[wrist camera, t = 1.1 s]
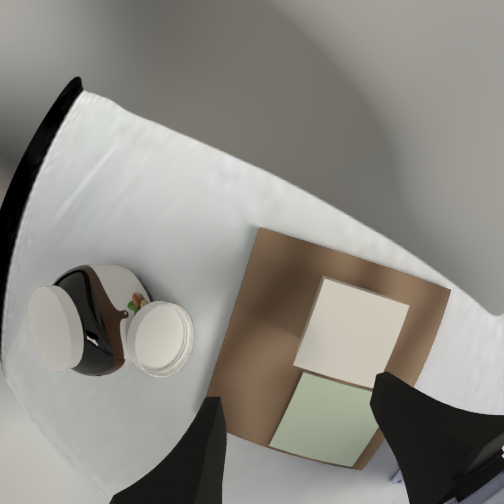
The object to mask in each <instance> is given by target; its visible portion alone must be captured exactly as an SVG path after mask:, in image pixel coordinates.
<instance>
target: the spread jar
mask: <svg viewBox="0 0 504 504" xmlns="http://www.w3.org/2000/svg"><path fill="white" fill-rule="evenodd" d="M27 316H28V327H29V332H30V336H31V340H32V342H33V345H34V347H35V350H36V352H37V353H38V355H39V357H40V358H41V360H42V361H43V362H44V364H46V365H47V366H48V367H49V368H50V369H52V370H53V371H56V372H62V371H65V370H68V369H72V370H74V371H76V372H77V373H80V374H83V375H87V376H102V375H107V374H111V373H114V372H117V371H119V370H122V369H124V368H126V367H128V366H130V365H132V364H135V366H137V367H138V368H139V369H140V370H142V371H144V372H146V373H147V374H149V375H152V376H154V377H159V378H161V377H167V376H170V375H172V374H174V373H176V372H177V371H178V370H179V369H181V368H182V366H183V365H184V364H185V363H186V361H187V359H188V357H189V355H190V353H191V350H192V346H193V340H194V330H193V324H192V321H191V319H190V317H189V315H188V313H187V312H186V311H185V310H184V309H183V308H182V307H181V306H179V305H177V304H174V303H169V302H164V301H154V302H153V299H152V297H151V295H150V293H149V291H148V290H147V288H146V287H145V285H144V284H143V283H142V282H141V280H140V279H139V278H138V277H137V276H136V275H135V274H134V273H133V272H131V271H130V270H129V269H127V268H125V267H123V266H118V265H112V264H88V265H82V266H78V267H75V268H73V269H70V270H68V271H67V272H65V273H64V274H62V275H61V276H60V277H59V278H58V279H57V280H56V281H55V282H54V283H53V285H52V286H40V287H38V288H36V289H35V290H34V291H33V293H32V295H31V297H30V300H29V304H28V315H27Z"/></svg>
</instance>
